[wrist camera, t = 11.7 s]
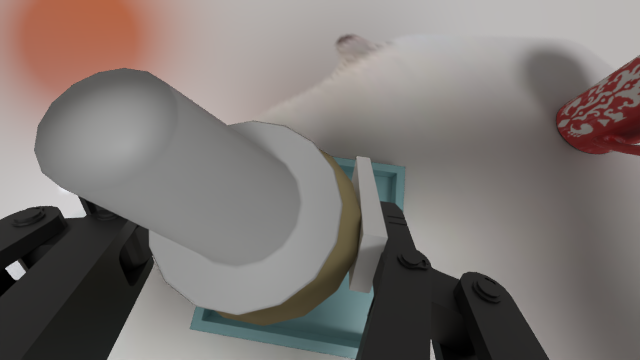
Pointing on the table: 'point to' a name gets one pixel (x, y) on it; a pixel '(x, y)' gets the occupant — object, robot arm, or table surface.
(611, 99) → the mug
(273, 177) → the squeeze bottle
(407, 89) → the table surface
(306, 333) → the tray
